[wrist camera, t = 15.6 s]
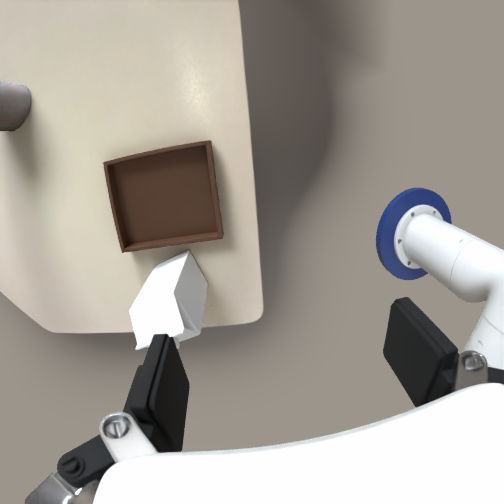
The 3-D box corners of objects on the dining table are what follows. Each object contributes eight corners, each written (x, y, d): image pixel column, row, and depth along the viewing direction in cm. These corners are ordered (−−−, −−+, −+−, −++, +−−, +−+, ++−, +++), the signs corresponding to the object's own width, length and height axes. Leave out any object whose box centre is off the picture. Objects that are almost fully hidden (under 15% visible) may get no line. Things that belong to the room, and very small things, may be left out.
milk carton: (154, 265, 48) (119, 328, 30) (189, 249, 47) (166, 308, 30) (174, 297, 51) (151, 368, 33) (208, 283, 50) (198, 354, 32)
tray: (211, 140, 41) (209, 140, 39) (223, 233, 47) (223, 238, 44) (110, 161, 41) (103, 162, 38) (127, 246, 46) (121, 252, 44)
